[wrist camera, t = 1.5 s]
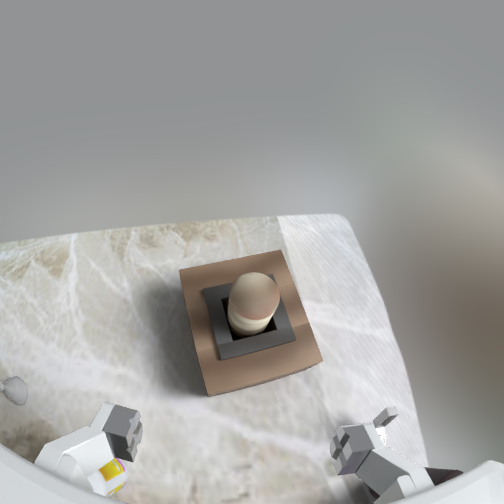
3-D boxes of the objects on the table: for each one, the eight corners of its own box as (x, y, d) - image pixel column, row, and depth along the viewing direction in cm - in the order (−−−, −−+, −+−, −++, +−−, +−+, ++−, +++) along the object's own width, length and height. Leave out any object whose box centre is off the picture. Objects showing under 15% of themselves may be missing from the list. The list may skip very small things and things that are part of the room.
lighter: (369, 450, 32) (398, 454, 25) (359, 452, 31) (387, 457, 25) (370, 408, 35) (398, 405, 28) (360, 410, 35) (388, 407, 28)
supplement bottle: (88, 444, 28) (41, 450, 17) (129, 455, 28) (93, 471, 17) (88, 481, 24) (44, 499, 13) (129, 494, 25) (95, 521, 14)
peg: (272, 333, 34) (286, 311, 27) (233, 343, 33) (237, 324, 26) (260, 297, 36) (270, 267, 30) (222, 305, 35) (224, 277, 28)
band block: (304, 370, 38) (325, 360, 31) (210, 396, 35) (207, 394, 27) (271, 275, 46) (281, 247, 38) (184, 294, 42) (178, 267, 35)
